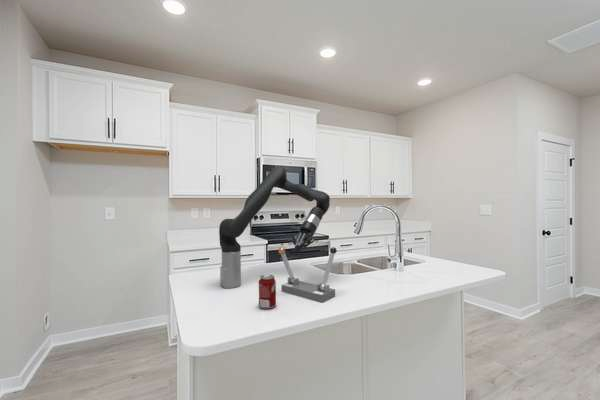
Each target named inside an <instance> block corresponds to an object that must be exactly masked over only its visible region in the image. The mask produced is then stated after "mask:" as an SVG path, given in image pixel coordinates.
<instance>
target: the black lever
mask: <svg viewBox="0 0 600 400" xmlns="http://www.w3.org/2000/svg"><path fill="white" fill-rule="evenodd" d="M337 251H338V250H337V248H336V247H333V246H332V247H331V248H329V252H330V253H329V257H328V260H327V264H326V267H325V271H324V273H323V274H324V275H323V278H322V280H321V283H322V284H320V286H319V289H320V290H323V291H325V288H324V286H326V285H327V282H328V279H329V276H330V273H331V269H332V265H333V262H334V257H335V255H336V253H337Z"/></svg>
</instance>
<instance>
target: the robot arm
mask: <svg viewBox="0 0 600 400" xmlns="http://www.w3.org/2000/svg"><path fill="white" fill-rule="evenodd" d="M287 176H288V175H287V171H286V169H285V167H284V166H282V165H277V166H274V167H273V168H271V170H270V171H269V172H268V173H267V175H266V176H265V178H264V179H263V180H262V181H261V183H260V184H259V185H258V186H257V187H256V188H255V189H254V190H253V191H252V192H251V193H250V194H249V195H248V197H247V198H246V200H245V202H244V206H243V209H242V210H241V211H240V213H239V214H238V215H237V216H236V217H235V218H224V219H222V221H221V222H220V224H219V227H218V234H219V237H218V238H219V246H220V249H221V266H220V270H219V271H220V272H219V273H220V275H219V276H220V277H219V278H220V283H219V284H220V286H221V287H222V288H223V289H233V288H238V287H240V286H241V285H242V271H241V270H242V266H241V264H242V261H241V257H242V256H241V255H242V254H241V250H242V249H241V244H240V243H238V241H237V238H239V237H241V236H242V234H243V233H244V232H245V230H246V229H247V227H248V225H249V224H250V223H251V221H252V220H253V219H254V218H255V217H256V215H257V214H258V213H259V211H261V209H262V208H263V207H264V206H265V205H266V203H267V202H268V201H269V199H270V196H271V193H272V192H273V189H274V187H275V188H279V189H282V190H283V191H287V192H288V193H292V194H294V195H297V196H298V197H300V198H302V199H304V200H305V201H308V202H310V203H311V202H313V201H314V200H315V201H316V203H315V204H316V205H315V206H313V207H312V208H311V209H310V210H309V213H308V214H307V216H306V217H305V219H304V220H303V222H302V224H301V226H300V228H299V232H298V233H297V234H296V235H292V236H291V238H292V244H293V245H294V248H293V250H292V252H293V254H294V255H299V254H300V252H301V250H302V249H303V248H304V249H306V248H307V247H309V246H310V245H311V244H313V243H314V242H315V239H314V238H313V237H314V235H315V233H316V232H317V229H318V228H319V226H320V223H321V221H322V219H323V217H324V215H326V214H327V212H328V210H329V209H330V204H331V203H330V202H331V201H330V199H331V198H330V196H329V194H328V193H326V192H325V191H321V190H317V189H314V188H312V187H310V186H308V185H306V184H302V183H293V182H291V181H289V180H288V179H287Z"/></svg>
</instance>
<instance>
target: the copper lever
mask: <svg viewBox="0 0 600 400" xmlns="http://www.w3.org/2000/svg"><path fill="white" fill-rule="evenodd" d="M277 251H278V254H280V256H281V259H282V262H283V264H284V266H285V268H286V271H287V273H288V277H290V282H291V283H294V279H296V277H295V275H294V273H293V270H292V267H291V265H290V262H289V260H288V258H287V255H286V250H285V248H284V247H279V248H278V250H277Z"/></svg>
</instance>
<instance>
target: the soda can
mask: <svg viewBox="0 0 600 400" xmlns="http://www.w3.org/2000/svg"><path fill="white" fill-rule="evenodd" d="M276 283H277V281H276V279H275V276H274V275H273V274H264V275H261V276H260V278H259V280H258V306H259V308H261V309H265V310H270V309H273V308H274V307H276V306H277V284H276Z"/></svg>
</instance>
